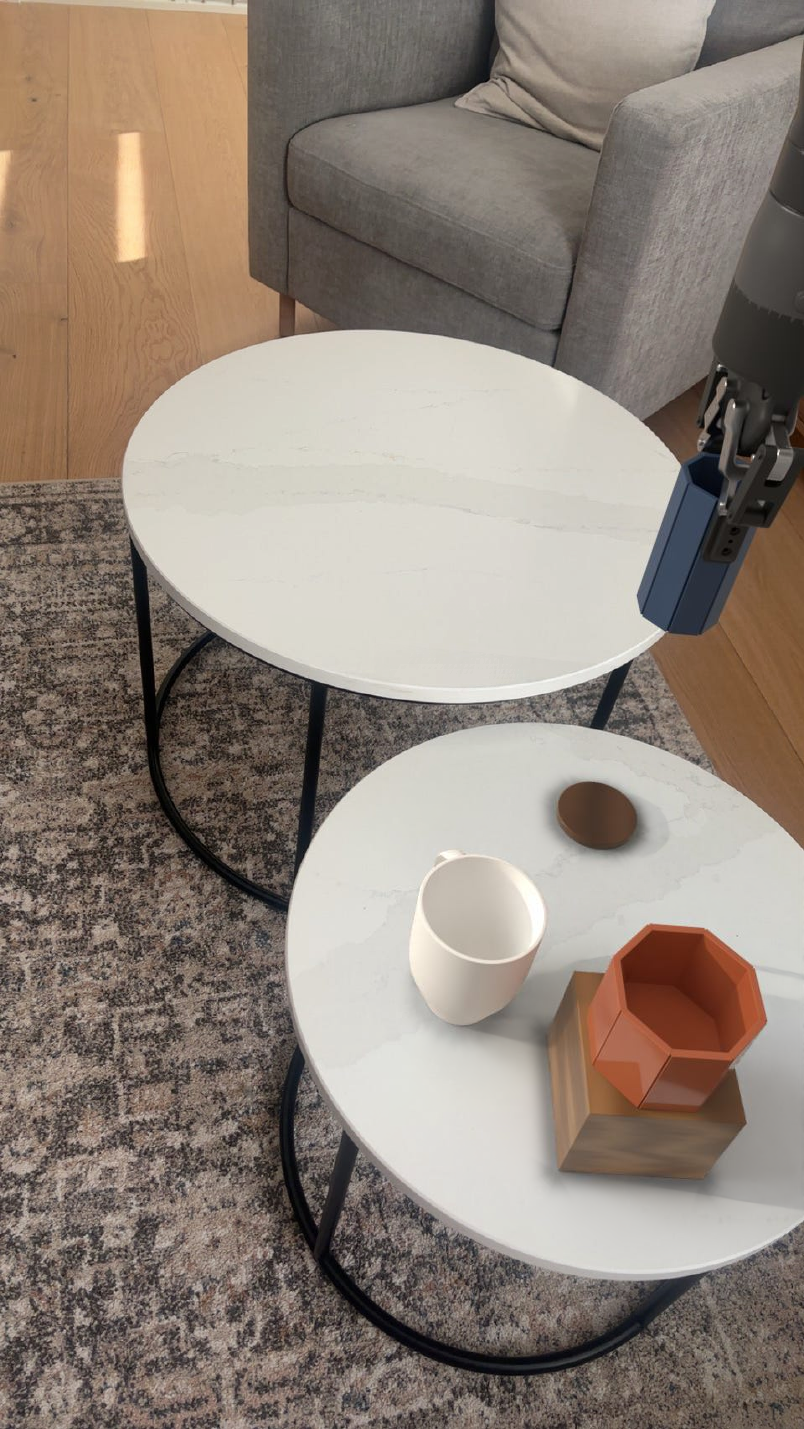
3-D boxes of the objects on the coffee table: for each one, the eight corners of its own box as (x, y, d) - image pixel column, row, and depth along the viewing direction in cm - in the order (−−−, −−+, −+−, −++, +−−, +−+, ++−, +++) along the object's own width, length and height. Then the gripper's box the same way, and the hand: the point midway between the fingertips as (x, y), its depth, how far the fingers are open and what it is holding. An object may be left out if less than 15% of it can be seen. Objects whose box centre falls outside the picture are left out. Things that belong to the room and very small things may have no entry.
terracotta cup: (711, 986, 74) (746, 930, 69) (737, 1115, 68) (778, 1063, 63) (581, 977, 74) (607, 919, 69) (596, 1106, 67) (625, 1053, 62)
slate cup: (707, 587, 80) (760, 458, 72) (722, 638, 76) (779, 508, 68) (632, 579, 79) (677, 449, 71) (643, 631, 75) (691, 499, 68)
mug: (531, 1037, 80) (567, 950, 71) (417, 1061, 78) (440, 973, 69) (482, 905, 88) (509, 812, 79) (376, 924, 85) (392, 829, 77)
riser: (678, 1043, 81) (717, 980, 75) (702, 1179, 74) (747, 1123, 68) (546, 1033, 80) (573, 970, 74) (557, 1170, 73) (589, 1113, 67)
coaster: (629, 790, 98) (631, 784, 98) (640, 853, 93) (642, 847, 93) (552, 783, 98) (554, 778, 97) (559, 846, 93) (561, 840, 92)
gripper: (906, 356, 56) (786, 606, 68) (833, 239, 66) (740, 475, 78) (765, 339, 55) (669, 594, 67) (712, 224, 65) (637, 464, 77)
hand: (707, 529), depth 73 cm, fingers closed on slate cup, 5 cm apart
